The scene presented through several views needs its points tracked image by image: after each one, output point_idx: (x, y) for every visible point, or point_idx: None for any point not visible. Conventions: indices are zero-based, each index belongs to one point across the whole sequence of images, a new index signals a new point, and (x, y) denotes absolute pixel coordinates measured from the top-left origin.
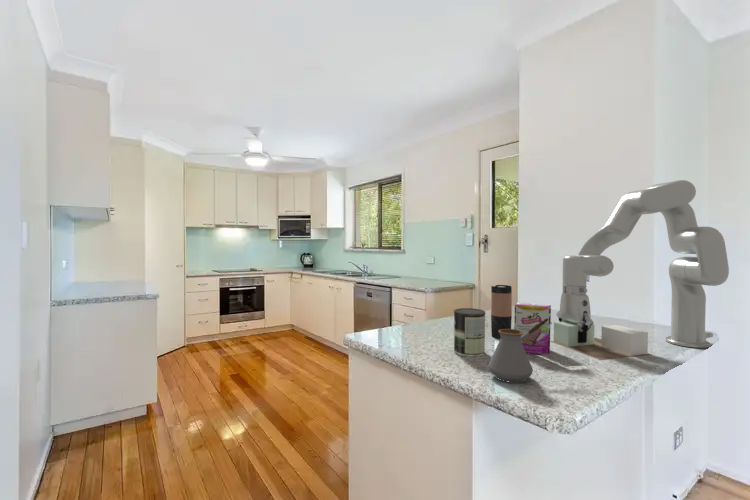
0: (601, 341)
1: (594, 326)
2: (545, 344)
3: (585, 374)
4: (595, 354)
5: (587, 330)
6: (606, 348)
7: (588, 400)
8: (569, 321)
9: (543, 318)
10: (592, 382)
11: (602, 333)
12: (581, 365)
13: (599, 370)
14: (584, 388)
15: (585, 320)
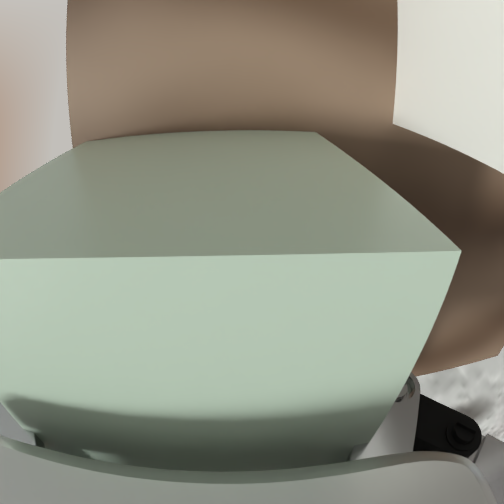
0: (419, 133)
1: (432, 223)
2: None
3: (478, 417)
4: (466, 331)
5: (413, 391)
6: (453, 151)
7: (501, 438)
8: (46, 442)
9: None
10: (497, 418)
11: (497, 165)
12: (452, 405)
13: (499, 380)
14: (490, 434)
15: (349, 499)
